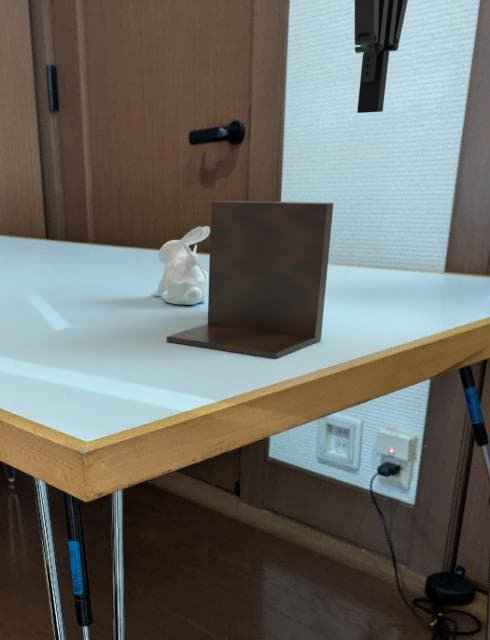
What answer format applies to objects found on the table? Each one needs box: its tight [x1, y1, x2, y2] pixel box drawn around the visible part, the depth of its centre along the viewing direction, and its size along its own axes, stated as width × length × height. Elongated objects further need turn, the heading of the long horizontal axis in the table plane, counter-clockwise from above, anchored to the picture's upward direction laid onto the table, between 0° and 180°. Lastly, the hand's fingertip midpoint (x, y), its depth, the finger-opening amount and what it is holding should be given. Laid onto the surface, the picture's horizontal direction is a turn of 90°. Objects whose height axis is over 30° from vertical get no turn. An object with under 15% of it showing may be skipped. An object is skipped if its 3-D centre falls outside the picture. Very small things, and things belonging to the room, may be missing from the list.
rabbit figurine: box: [150, 225, 211, 306], centre depth 110 cm, size 12×8×10 cm, turn 12°
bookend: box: [166, 200, 334, 359], centre depth 86 cm, size 14×10×14 cm
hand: (369, 112), depth 102 cm, fingers closed
